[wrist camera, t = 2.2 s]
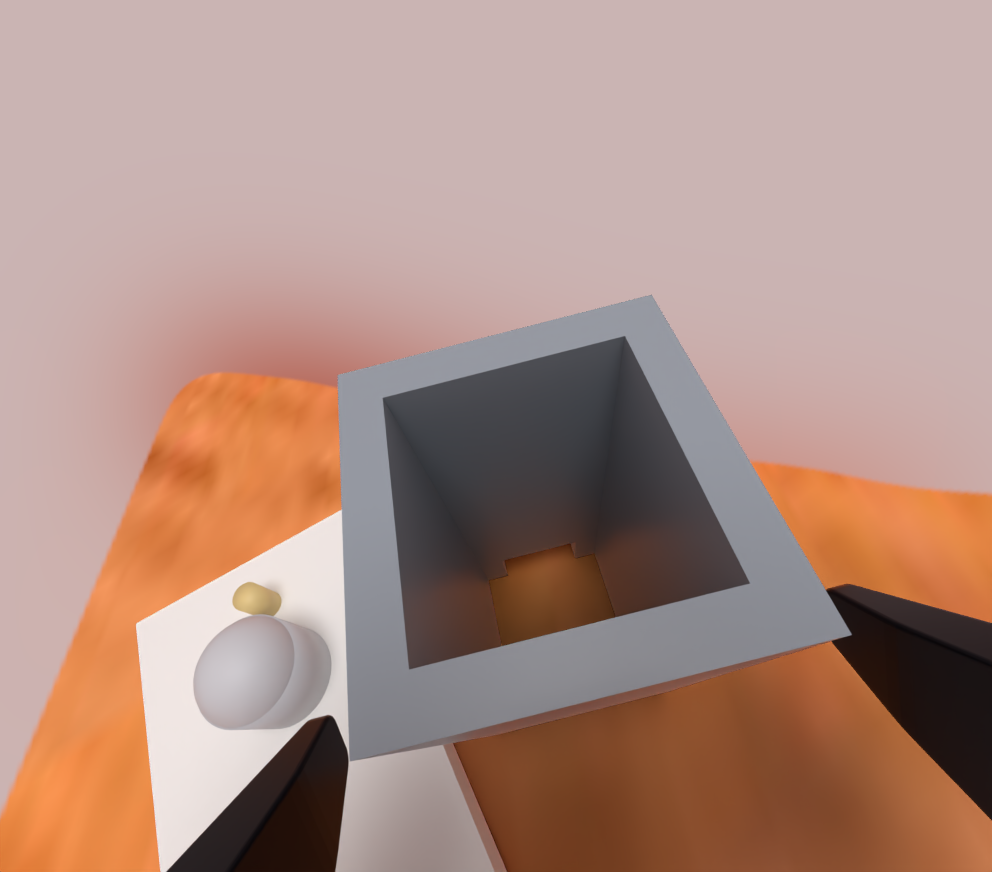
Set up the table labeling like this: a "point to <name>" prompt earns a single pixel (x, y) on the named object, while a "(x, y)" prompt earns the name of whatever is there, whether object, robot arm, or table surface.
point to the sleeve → (552, 530)
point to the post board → (228, 760)
